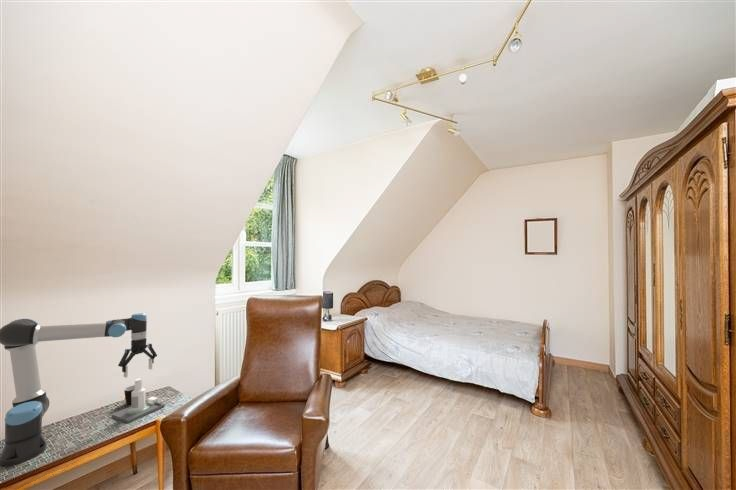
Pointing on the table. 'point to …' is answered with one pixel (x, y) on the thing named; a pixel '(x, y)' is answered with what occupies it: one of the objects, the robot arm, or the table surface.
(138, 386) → the spray bottle
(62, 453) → the table surface
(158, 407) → the charging dock
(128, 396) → the coffee mug
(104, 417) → the table surface
